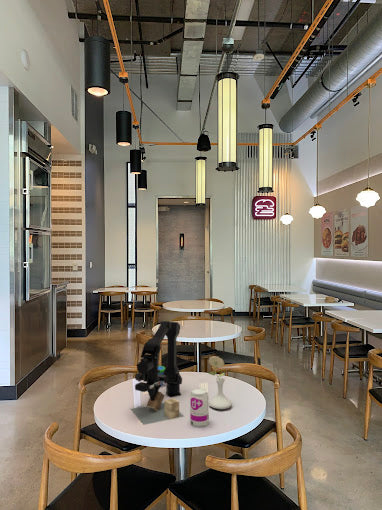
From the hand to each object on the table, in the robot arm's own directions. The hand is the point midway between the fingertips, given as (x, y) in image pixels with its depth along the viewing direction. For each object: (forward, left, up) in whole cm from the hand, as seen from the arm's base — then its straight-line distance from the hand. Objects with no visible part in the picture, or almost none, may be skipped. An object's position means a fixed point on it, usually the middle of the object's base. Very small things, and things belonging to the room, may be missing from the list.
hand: (152, 400), depth 185 cm
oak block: (-6, +9, -5) cm, 12 cm away
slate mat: (-1, +2, -6) cm, 6 cm away
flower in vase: (-32, +8, -6) cm, 34 cm away
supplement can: (-14, +22, -6) cm, 27 cm away
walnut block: (0, 0, -4) cm, 4 cm away
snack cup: (-15, -36, -6) cm, 39 cm away
